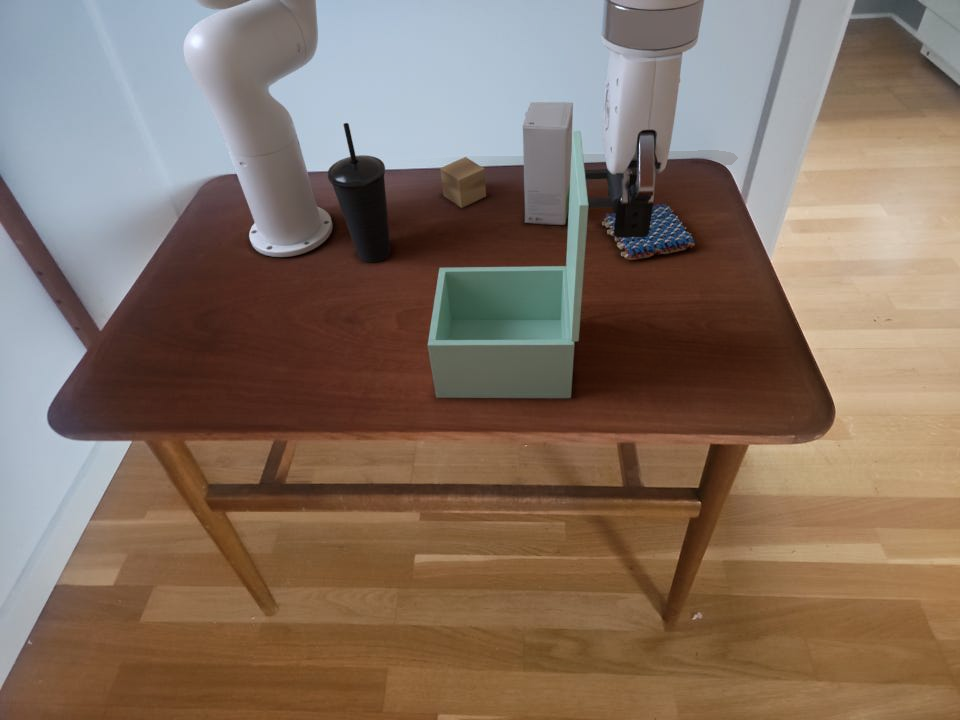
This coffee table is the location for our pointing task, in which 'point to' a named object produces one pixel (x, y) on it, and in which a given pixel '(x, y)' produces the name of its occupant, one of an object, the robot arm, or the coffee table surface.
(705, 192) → the coffee table surface
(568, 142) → the cosmetic box
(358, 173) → the drinking cup
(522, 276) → the compartment
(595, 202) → the compartment lid
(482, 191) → the maple block
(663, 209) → the woven mat
